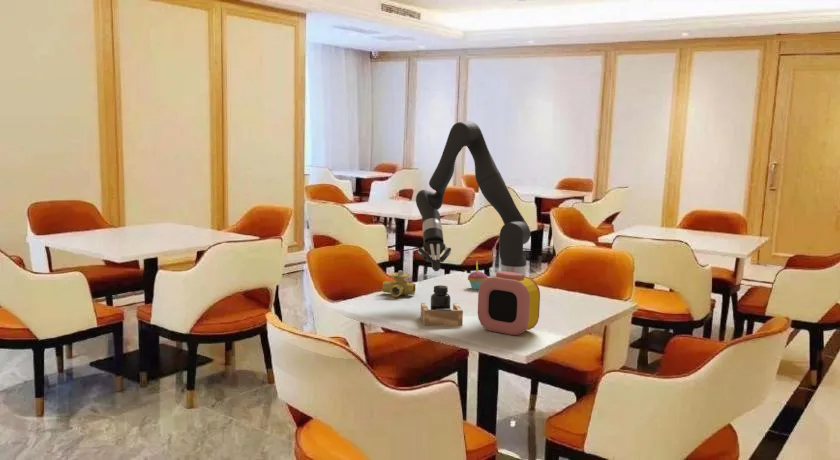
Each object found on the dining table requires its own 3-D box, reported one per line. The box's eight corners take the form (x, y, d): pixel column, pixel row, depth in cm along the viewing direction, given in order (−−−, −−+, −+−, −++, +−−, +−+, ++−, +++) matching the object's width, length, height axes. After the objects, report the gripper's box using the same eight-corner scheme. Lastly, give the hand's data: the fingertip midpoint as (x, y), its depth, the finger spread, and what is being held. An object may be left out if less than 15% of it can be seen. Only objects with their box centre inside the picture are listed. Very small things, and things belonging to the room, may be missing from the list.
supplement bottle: (438, 317, 259) (439, 283, 258) (453, 320, 255) (454, 286, 254) (426, 320, 254) (427, 286, 253) (441, 324, 250) (442, 289, 248)
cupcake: (464, 286, 313) (465, 259, 312) (482, 286, 316) (484, 258, 314) (471, 290, 305) (472, 262, 304) (490, 290, 308) (491, 261, 306)
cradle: (420, 316, 259) (420, 301, 258) (456, 316, 260) (457, 302, 260) (424, 325, 247) (424, 309, 247) (462, 325, 249) (462, 309, 248)
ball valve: (416, 294, 296) (416, 270, 295) (409, 299, 286) (410, 274, 285) (386, 292, 299) (386, 267, 298) (378, 297, 289) (379, 272, 288)
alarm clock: (475, 329, 244) (477, 272, 242) (490, 322, 253) (493, 267, 251) (525, 339, 234) (528, 279, 232) (540, 331, 243) (543, 274, 241)
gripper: (416, 226, 276) (419, 264, 266) (450, 226, 278) (455, 263, 267) (414, 239, 282) (417, 276, 272) (448, 238, 284) (453, 275, 273)
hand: (436, 270), depth 269 cm, fingers closed
